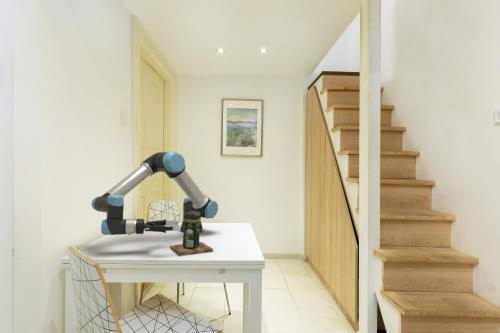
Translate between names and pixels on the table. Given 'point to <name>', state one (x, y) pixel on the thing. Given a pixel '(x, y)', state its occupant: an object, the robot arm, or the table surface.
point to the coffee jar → (191, 229)
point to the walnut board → (190, 249)
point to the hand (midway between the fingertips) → (179, 225)
